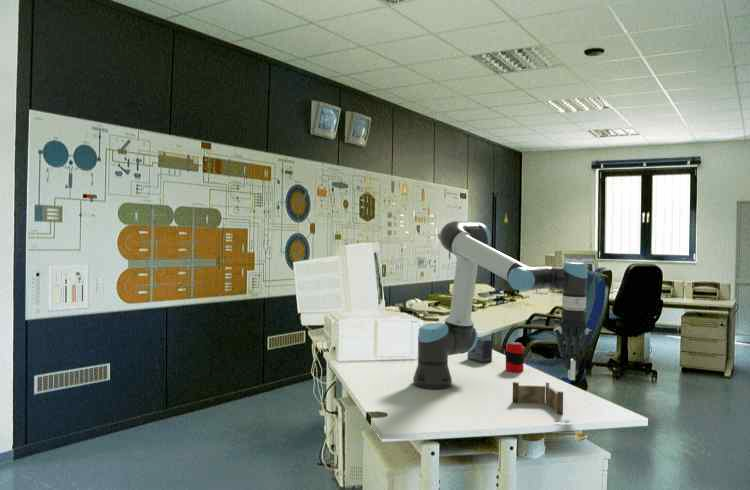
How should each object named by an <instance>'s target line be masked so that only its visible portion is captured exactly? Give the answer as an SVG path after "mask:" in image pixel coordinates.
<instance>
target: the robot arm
mask: <svg viewBox="0 0 750 490" xmlns="http://www.w3.org/2000/svg"><path fill="white" fill-rule="evenodd" d="M491 237H492V236H491V232H490V230H489V229H488V227H487V226H486V225H485V224H484V223H481V222H477V221H459V220H457V221H456V220H455V221H451V222H447V223H446V224H445V225H444V226H443V227H442V228H441V230H440V233H439V240H440V241H439V242H440V244H441V245H442V247H443V248H444V249H445V250H446V251H448V252H449V253H451V254H453V255H454V256H455V258H456V261H455V263H456V264H455V270H454V279H453V286H452V287H453V288H452V295H451V302H450V309H449V315H448V316H447V317H446V318H445V319H444V323H443V322H435V323H427V324H423V325H422V326H420V327H419V329H418V334H417V335H418V336H417V340H418V341H417V356H418V357H417V367H416V369H415V372H414V375H413V377H412V382H413V385H414V386H416V387H418V388H421V389H427V390H443V389H448V388H450V387H452V385H453V379H452V376H451V373H450V372H451V371H450V368H449V365H448V361H449V360H448V359H449V356H453V355H458V354H459V355H460V354H462V355H464V354H467V353H468V352H469V351H471V350H472V349H473V348H474V347H475V346H476V344H477V340H478V337H479V334H478V331H477V328H476V327H475V326H474V325H475V322H474V321H473V320H472V311H473V306H474V305H473V304H474V295H475V288H476V280H477V273H478V266H480V267H482V268H484V269H486V270H487V271H490V272H491V273H493V274H495V275H497V276H498V277H500V278H502V279H503V280H506V281H507V282H508V284H509V285H510V287H511V289H513V290H515V291H532V290H544V289H545V290H546V289H553V290H561V291H562V297H561V299H562V300H561V307H562V309H561V322H560V324H559V326H558V327H556V328H555V327H554V328H553V330H552V332H553V334H555V336H556V341H557V347H558V352H559V356H560V357H561V358H563V359H564V360H565V369H566V370H567V379H568V380H570V381H576V370H577V371H578V369H579V362H580V361H581V360H583V359H585V357H586V354H587V353H586V352H587V351H588V350H587V349H588V347H589V343H590V339H591V337H592V335H593V334H594V331H593V330H591V329H589V328H588V326H587V323H586V319H587V318H586V314H587V311H586V310H585V309H586V308H587V290H588V289H587V285H588V284H587V283H588V277H589V276H588V265H587V264H586V263H584V262H576V261H575V262H572V261H571V262H570V261H567V262H564V263H563V267H559V266H557V267H556V266H549V265H548V266H547V265H536V266H528V265H526V264H525V263H522V262H520V261H518V260H517V259H515V258H512V257H511V256H508V255H507V254H504V253H502V252H501V251H499V250H496V249H495V248H493V247H491V242H492V238H491ZM562 333H564V335H565V344H564V342H563V336H562ZM583 333H584V334H583ZM582 335H583V336H582ZM581 336H582V341H581ZM580 341H581V343H580ZM580 344H581V345H580ZM564 345H565V346H564ZM572 346H573V348H572Z"/></svg>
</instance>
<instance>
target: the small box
mask: <svg viewBox="0 0 750 490" xmlns="http://www.w3.org/2000/svg"><path fill="white" fill-rule="evenodd" d="M467 360H469V361H473V362H477V363H481V364H487V363H492V362H493V340H492V339H488V338H485V337H479V336H478V340H477V344H476V346H475V347H474V348H473V349H472V350H471V351H469V352H467Z"/></svg>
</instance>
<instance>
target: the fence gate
mask: <svg viewBox="0 0 750 490" xmlns="http://www.w3.org/2000/svg"><path fill="white" fill-rule="evenodd" d="M544 404H547V406H549V407H550V408H551V409H553V410H554V411H555V412H556V413H557V415H563V414H564V392H563V391H559V390H558V391H557V390H555V389H554V388H553V387H551V386H550V382H545V403H544Z"/></svg>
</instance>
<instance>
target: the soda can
mask: <svg viewBox="0 0 750 490" xmlns="http://www.w3.org/2000/svg"><path fill="white" fill-rule="evenodd" d="M524 349H525V346H524V345H523V344H522V343H521V342H518V341H517V342H516V341H509V342H508V343H507V344H506V345H505V370H506V372H510V373H522V372H523V371H524V353H525V351H524Z"/></svg>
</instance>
